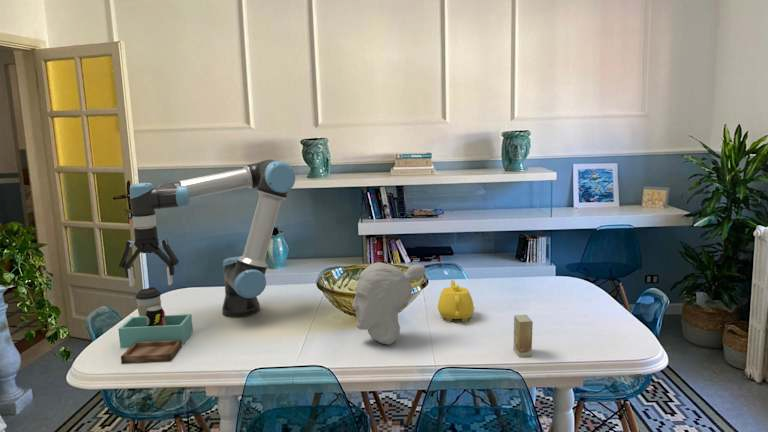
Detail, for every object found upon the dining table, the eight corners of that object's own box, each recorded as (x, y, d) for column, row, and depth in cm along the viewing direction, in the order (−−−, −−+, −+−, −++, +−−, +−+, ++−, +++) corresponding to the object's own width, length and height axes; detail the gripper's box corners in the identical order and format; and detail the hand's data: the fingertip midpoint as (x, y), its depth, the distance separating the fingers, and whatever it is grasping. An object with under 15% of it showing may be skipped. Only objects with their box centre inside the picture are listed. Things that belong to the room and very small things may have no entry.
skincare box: (512, 349, 187) (513, 314, 185) (525, 348, 187) (526, 313, 185) (519, 357, 180) (519, 321, 178) (532, 357, 181) (532, 320, 179)
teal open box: (193, 331, 212) (191, 314, 210) (183, 344, 200) (181, 325, 198) (133, 334, 210) (131, 316, 209) (120, 347, 199) (118, 328, 197)
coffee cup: (155, 331, 213) (151, 293, 210) (133, 330, 215) (129, 292, 212) (168, 323, 222) (164, 286, 219) (148, 322, 223) (144, 285, 221)
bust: (351, 335, 203) (348, 260, 198) (421, 328, 207) (420, 255, 203) (356, 351, 189) (352, 271, 184) (431, 344, 193) (430, 265, 188)
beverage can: (153, 336, 208) (149, 305, 206) (169, 336, 208) (166, 305, 206) (145, 343, 202) (142, 311, 200) (162, 342, 202) (159, 310, 200)
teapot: (439, 325, 210) (439, 293, 208) (436, 308, 230) (435, 278, 227) (476, 325, 209) (476, 292, 207) (469, 307, 229) (469, 277, 227)
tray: (181, 346, 198) (181, 339, 197) (170, 361, 186) (170, 354, 186) (135, 348, 197) (134, 342, 197) (121, 363, 185) (120, 356, 185)
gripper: (184, 223, 202) (189, 280, 206) (113, 226, 201) (120, 283, 205) (177, 227, 195) (183, 286, 198) (104, 230, 194) (111, 289, 198)
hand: (151, 284), depth 202 cm, fingers open, 13 cm apart
